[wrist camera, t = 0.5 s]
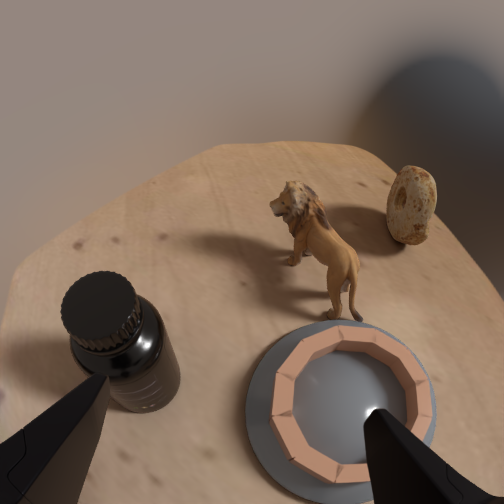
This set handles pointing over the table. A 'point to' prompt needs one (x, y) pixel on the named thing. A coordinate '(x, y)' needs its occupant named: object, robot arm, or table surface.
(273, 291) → the table surface
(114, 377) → the supplement bottle
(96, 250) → the table surface
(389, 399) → the ring tray
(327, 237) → the lion figurine
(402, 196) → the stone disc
